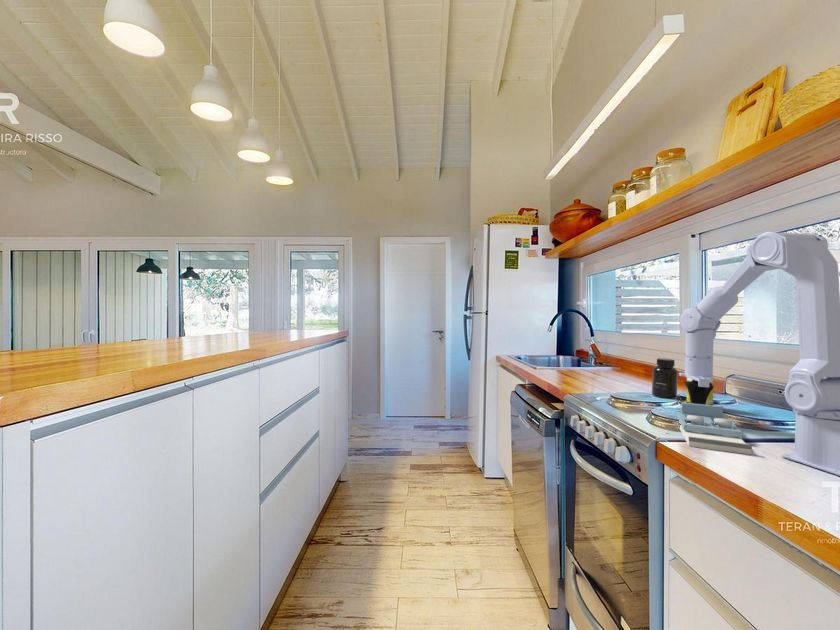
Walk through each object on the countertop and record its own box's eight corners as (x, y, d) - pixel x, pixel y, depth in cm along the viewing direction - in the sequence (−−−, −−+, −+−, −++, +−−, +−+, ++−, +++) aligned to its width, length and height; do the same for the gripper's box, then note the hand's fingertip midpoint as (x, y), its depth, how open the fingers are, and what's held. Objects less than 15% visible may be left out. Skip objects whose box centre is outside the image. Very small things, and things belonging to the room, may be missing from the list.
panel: (741, 437, 81) (741, 419, 81) (683, 430, 85) (684, 413, 85) (726, 422, 92) (727, 406, 92) (676, 416, 96) (676, 401, 96)
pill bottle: (704, 404, 114) (705, 367, 114) (718, 410, 108) (719, 370, 108) (681, 404, 115) (682, 366, 114) (694, 409, 108) (695, 370, 108)
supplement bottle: (655, 398, 122) (656, 359, 122) (649, 393, 129) (650, 357, 129) (680, 399, 120) (681, 361, 120) (673, 395, 127) (673, 358, 127)
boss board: (751, 454, 75) (752, 435, 75) (688, 445, 79) (689, 427, 79) (725, 426, 93) (725, 410, 92) (675, 420, 97) (675, 405, 97)
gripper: (676, 353, 106) (674, 402, 106) (684, 359, 93) (682, 415, 93) (707, 354, 103) (706, 406, 103) (720, 361, 90) (719, 419, 90)
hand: (697, 410), depth 98 cm, fingers closed
